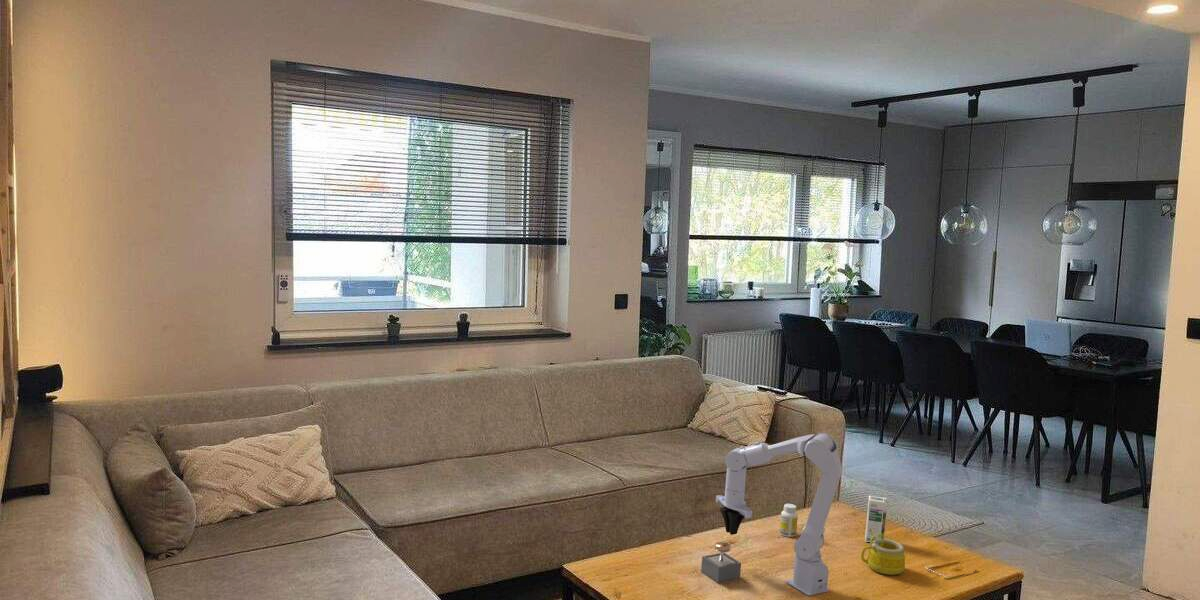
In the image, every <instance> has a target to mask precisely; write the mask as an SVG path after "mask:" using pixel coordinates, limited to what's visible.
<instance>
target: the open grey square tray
mask: <svg viewBox="0 0 1200 600" xmlns="http://www.w3.org/2000/svg"><path fill="white" fill-rule="evenodd" d="M719 555H720V552H718V553H712V554H709V555H702V556H701V569H700V570H701V571H700V573H702V574H703V575H705V576H706V577H707V578H709V579H710V580H712V581H713V582H715V583H716V584H723V583H726V582H731V581H736V580H740V579H741V570H742V562H740V561H739V560H737V559H735V558H734V557H732V556H731V555H729V554H728V553H727V552H724V555H725V556H726V557H728V558H730V559H731V560H733V561H734V562H736V563H733V564H728V565H723V566H718V565H717V564H715V563H714V562H712V561H711V560H709V559H708V557H713V556H719Z"/></svg>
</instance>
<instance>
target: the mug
mask: <svg viewBox="0 0 1200 600" xmlns="http://www.w3.org/2000/svg"><path fill="white" fill-rule="evenodd" d="M869 531H870V532H871V529H869ZM871 534H872V532H871ZM877 535H879V536H880V537H882V539H876V538H875V536H877ZM879 536H878V538H880V537H879ZM872 539H874V541H872ZM867 549H869V550H868V554H867V555H868V556H867V558H864V557H865V556H864V555H865V551H866V550H867ZM905 551H906V550H905V547H904V545H902V544H901V543H899V542H898V541H895V540H892V539H886V538H885V537H884V538H883V536H882V535H880V534H875V535H873V534H872V538H871V539H870V543H869V545H865V546H864V547H863V548H862V550H861V553H860V559H861V561H862V562H863V563H865V564H866V565H868V566H869V568H870V569H871V570H873V571H875V572H876V573H879V574H882V575H883V574H884V575H886V576H896V574H897V575H900V574H902V573H903V572H904V571H905V566H906V560H905V558H906V556H905V555H906V554H905Z"/></svg>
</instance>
